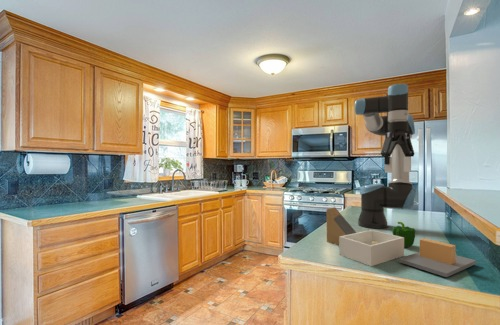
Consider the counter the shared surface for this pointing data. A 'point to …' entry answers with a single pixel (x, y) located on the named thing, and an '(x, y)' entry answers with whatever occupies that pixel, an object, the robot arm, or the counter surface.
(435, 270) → the lid
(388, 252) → the tub
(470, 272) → the counter surface
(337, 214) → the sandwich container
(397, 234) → the bell pepper
